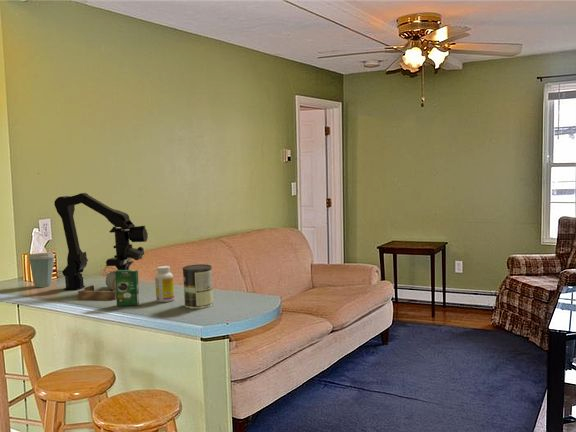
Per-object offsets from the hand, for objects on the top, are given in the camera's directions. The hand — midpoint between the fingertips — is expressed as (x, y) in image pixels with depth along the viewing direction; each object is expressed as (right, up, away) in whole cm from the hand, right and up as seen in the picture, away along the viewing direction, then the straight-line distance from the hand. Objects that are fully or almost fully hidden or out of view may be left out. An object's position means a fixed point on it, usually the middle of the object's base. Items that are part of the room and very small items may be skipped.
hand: (125, 279), depth 247 cm
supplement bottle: (+23, -5, -28) cm, 36 cm away
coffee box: (+10, -6, -33) cm, 35 cm away
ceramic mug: (0, -4, -5) cm, 7 cm away
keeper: (-4, -5, -15) cm, 16 cm away
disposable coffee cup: (-39, -4, +10) cm, 40 cm away
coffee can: (+37, -6, -37) cm, 53 cm away
